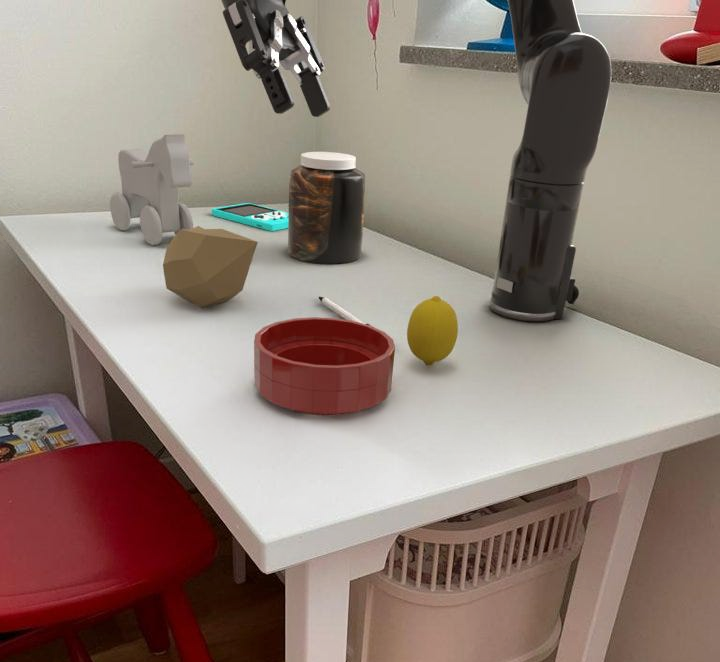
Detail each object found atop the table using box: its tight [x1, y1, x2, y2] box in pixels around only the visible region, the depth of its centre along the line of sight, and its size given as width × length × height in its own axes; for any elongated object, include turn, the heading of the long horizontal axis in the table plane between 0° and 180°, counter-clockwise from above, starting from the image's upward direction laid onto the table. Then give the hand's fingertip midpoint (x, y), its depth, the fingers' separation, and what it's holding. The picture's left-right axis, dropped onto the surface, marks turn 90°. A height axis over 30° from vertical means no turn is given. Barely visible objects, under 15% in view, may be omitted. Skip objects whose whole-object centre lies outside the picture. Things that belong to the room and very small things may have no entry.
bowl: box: [253, 316, 396, 416], centre depth 78 cm, size 14×14×6 cm
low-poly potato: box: [162, 225, 259, 308], centre depth 100 cm, size 15×11×12 cm
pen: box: [318, 296, 372, 326], centre depth 97 cm, size 1×19×1 cm, turn 29°
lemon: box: [406, 295, 459, 367], centre depth 85 cm, size 6×6×8 cm
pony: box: [109, 133, 195, 247], centre depth 124 cm, size 20×10×17 cm, turn 40°
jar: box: [287, 151, 366, 264], centre depth 121 cm, size 12×12×15 cm
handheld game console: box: [211, 202, 289, 232], centre depth 144 cm, size 10×16×1 cm, turn 51°
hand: (304, 112), depth 83 cm, fingers open, 8 cm apart
